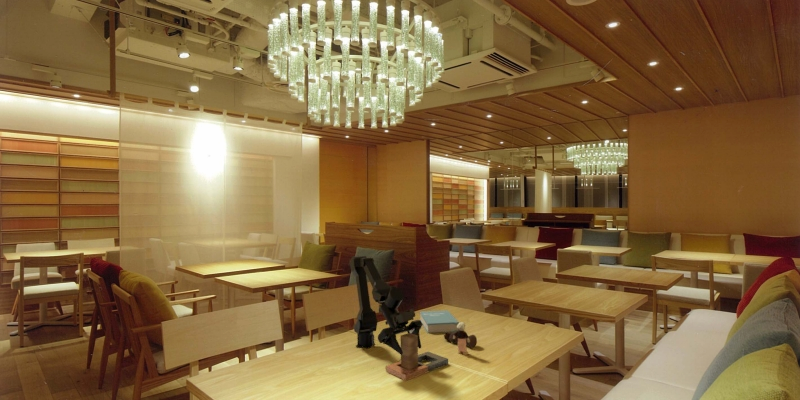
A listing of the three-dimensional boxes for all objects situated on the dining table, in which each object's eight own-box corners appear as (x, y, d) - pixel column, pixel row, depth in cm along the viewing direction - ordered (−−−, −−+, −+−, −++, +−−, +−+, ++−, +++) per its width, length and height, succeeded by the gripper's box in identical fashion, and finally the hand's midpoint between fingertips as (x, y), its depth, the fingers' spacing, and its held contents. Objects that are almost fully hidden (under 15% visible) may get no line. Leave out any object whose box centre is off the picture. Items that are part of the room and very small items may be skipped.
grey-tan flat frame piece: (405, 380, 143) (405, 375, 143) (385, 371, 152) (385, 366, 152) (448, 364, 158) (448, 358, 158) (428, 356, 166) (428, 351, 166)
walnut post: (409, 374, 149) (408, 338, 149) (401, 370, 152) (400, 335, 153) (418, 370, 152) (417, 335, 152) (410, 367, 155) (409, 332, 156)
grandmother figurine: (472, 352, 170) (471, 322, 170) (469, 355, 166) (469, 324, 166) (454, 350, 173) (453, 320, 173) (451, 353, 169) (450, 322, 169)
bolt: (447, 343, 187) (475, 350, 176) (440, 340, 184) (468, 347, 173) (450, 331, 189) (478, 336, 179) (444, 327, 186) (472, 333, 176)
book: (419, 321, 219) (419, 311, 219) (449, 319, 221) (449, 310, 221) (427, 334, 197) (427, 323, 197) (460, 332, 198) (460, 322, 199)
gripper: (381, 307, 149) (402, 345, 141) (419, 298, 162) (439, 333, 153) (369, 324, 155) (388, 361, 147) (406, 315, 168) (425, 349, 159)
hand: (411, 350), depth 151 cm, fingers open, 9 cm apart
